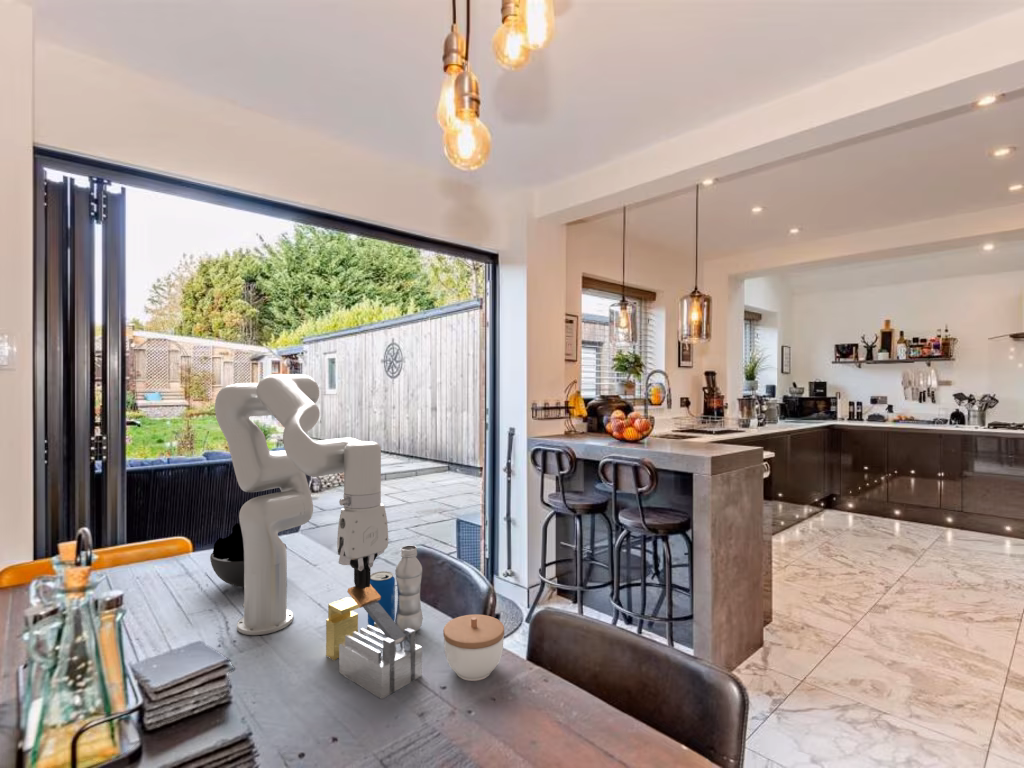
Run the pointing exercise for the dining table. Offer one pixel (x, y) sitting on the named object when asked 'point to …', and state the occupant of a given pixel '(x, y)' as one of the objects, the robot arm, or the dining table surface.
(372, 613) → the strap
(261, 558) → the robot arm
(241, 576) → the bowl of black rocks
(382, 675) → the heatsink
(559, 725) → the dining table surface
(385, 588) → the beverage can
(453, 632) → the lidded bowl
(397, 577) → the plastic bottle
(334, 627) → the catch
